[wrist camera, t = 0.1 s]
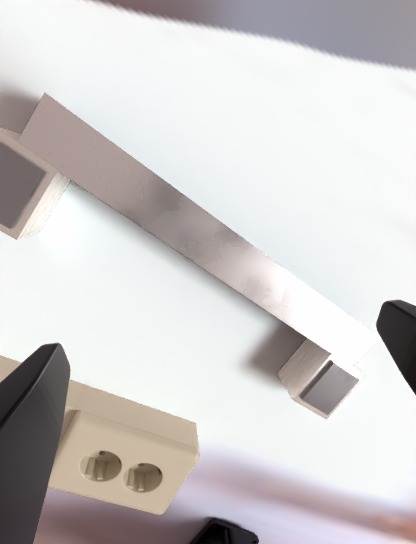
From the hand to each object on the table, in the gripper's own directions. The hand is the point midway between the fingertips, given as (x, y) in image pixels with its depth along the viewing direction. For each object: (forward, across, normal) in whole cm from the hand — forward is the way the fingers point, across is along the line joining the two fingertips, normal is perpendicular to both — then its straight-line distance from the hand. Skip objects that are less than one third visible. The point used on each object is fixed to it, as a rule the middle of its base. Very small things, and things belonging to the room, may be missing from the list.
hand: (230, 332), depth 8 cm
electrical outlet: (+12, +10, +19) cm, 25 cm away
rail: (+14, -1, +7) cm, 16 cm away
